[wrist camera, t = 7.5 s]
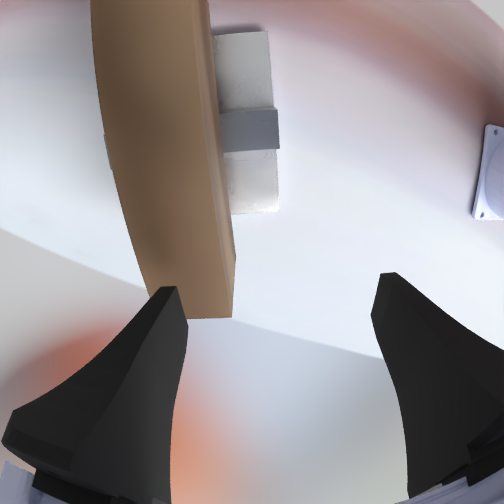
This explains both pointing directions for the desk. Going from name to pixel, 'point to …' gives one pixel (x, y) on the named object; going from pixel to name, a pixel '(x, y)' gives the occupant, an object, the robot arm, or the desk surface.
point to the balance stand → (246, 120)
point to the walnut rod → (167, 146)
